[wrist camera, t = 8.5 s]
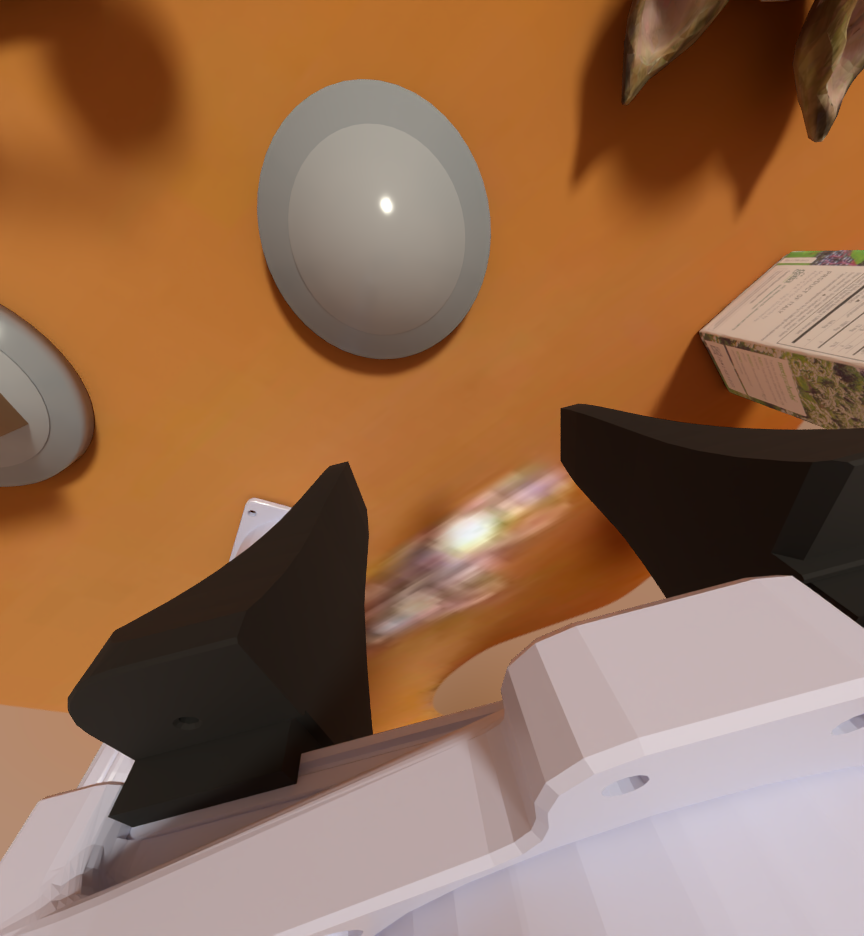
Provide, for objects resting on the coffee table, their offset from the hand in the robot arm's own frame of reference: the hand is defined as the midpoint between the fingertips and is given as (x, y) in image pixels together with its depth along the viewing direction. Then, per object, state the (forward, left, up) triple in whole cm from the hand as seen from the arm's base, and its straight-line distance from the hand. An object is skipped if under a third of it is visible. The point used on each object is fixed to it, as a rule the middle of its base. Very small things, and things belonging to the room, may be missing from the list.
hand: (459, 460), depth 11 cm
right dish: (+5, +5, -9) cm, 12 cm away
